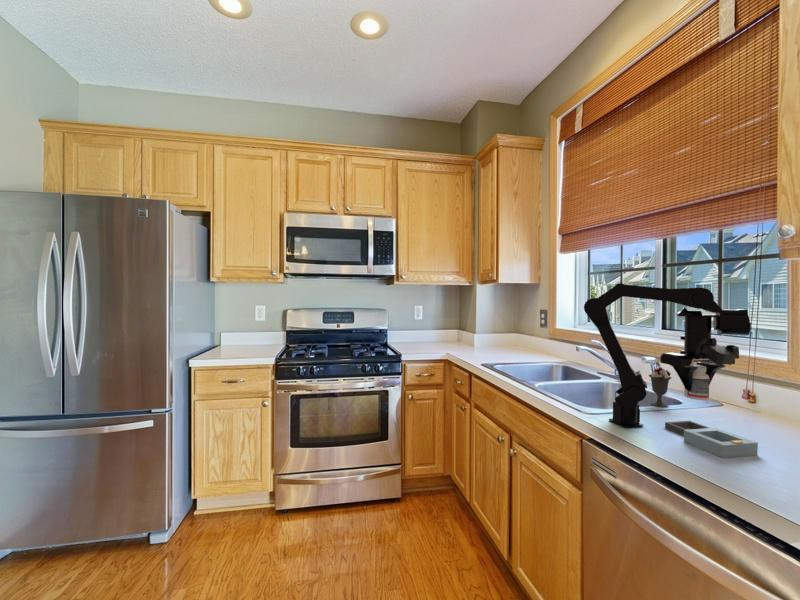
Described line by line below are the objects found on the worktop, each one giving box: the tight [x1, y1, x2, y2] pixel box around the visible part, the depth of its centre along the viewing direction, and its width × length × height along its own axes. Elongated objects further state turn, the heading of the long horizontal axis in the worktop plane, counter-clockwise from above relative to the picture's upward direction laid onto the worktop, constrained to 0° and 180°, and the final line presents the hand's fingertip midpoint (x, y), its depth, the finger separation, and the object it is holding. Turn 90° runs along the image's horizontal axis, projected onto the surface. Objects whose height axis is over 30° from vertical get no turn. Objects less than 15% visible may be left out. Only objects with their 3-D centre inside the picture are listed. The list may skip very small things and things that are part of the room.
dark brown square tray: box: [664, 420, 710, 436], centre depth 103 cm, size 8×8×2 cm
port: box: [683, 427, 759, 459], centre depth 93 cm, size 10×10×3 cm
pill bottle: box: [684, 364, 710, 401], centre depth 101 cm, size 5×5×9 cm
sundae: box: [648, 362, 673, 408], centre depth 128 cm, size 7×7×15 cm
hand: (696, 389), depth 101 cm, fingers closed on pill bottle, 5 cm apart
